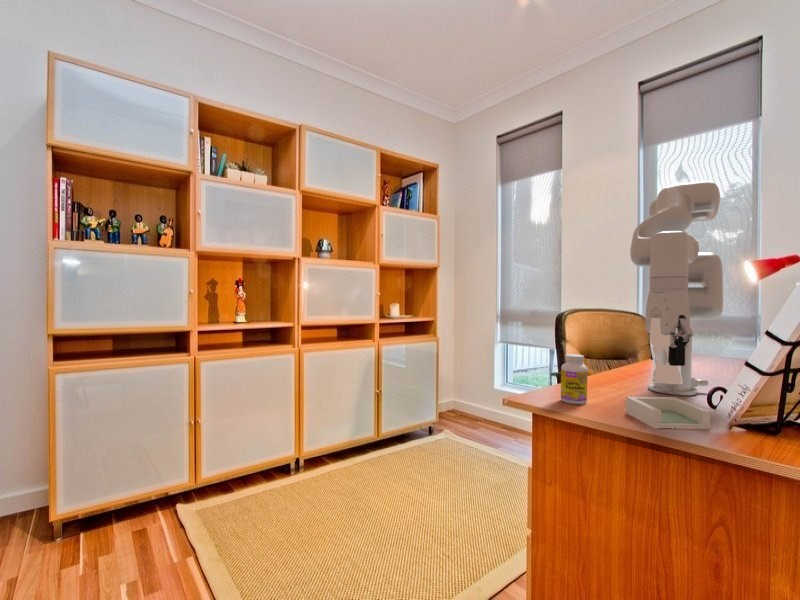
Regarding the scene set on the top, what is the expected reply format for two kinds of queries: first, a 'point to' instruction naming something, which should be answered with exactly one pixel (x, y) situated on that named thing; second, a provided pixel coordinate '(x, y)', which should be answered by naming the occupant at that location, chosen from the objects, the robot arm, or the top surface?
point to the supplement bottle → (574, 380)
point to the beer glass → (663, 356)
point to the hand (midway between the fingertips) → (667, 362)
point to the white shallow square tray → (667, 413)
